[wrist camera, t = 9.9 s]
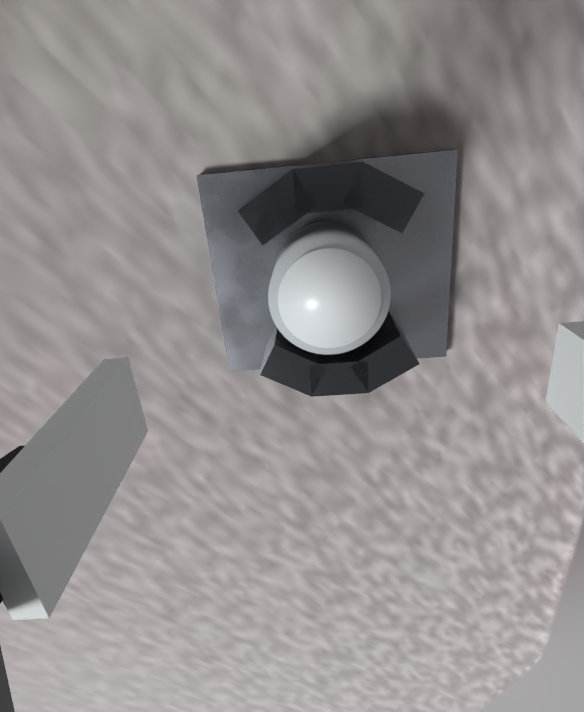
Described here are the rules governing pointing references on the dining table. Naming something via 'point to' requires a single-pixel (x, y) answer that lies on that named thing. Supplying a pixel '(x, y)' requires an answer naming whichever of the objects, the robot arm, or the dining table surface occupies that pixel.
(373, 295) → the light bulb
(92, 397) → the robot arm
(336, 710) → the dining table surface
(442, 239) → the ball joint mount
